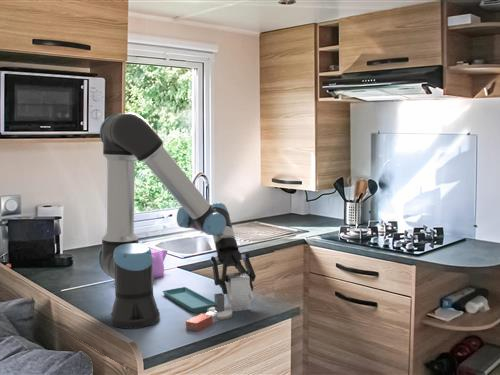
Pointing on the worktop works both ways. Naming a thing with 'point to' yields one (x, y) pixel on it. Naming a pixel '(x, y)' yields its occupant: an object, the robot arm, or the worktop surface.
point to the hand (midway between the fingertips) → (240, 300)
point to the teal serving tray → (189, 299)
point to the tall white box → (238, 291)
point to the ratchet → (210, 315)
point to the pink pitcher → (158, 262)
